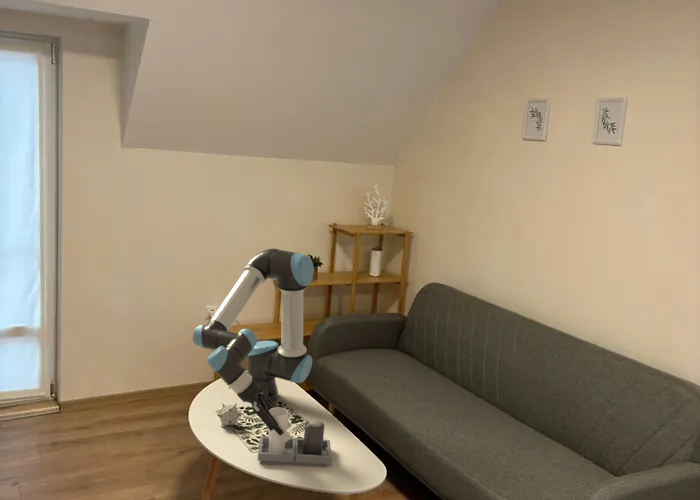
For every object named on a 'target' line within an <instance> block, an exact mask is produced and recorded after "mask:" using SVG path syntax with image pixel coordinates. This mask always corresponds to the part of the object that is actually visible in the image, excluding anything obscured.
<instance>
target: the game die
mask: <svg viewBox="0 0 700 500" xmlns="http://www.w3.org/2000/svg"><path fill="white" fill-rule="evenodd" d="M221 404H222V407H221V409H220V411H219V413H217V414H216V416H217V417H219V419H220V422H221V428H222V427H223V426H234V427H235V428H236V427H237V425H236V423H237V422H238V420H239V418H240V417H242V415H241V414H240V412H239V411H238V408H237V405H238V404H237V403H235V404H232V405H230V404H229V405H228V404H226V405H224V403H221Z"/></svg>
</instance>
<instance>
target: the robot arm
mask: <svg viewBox="0 0 700 500" xmlns="http://www.w3.org/2000/svg"><path fill="white" fill-rule="evenodd" d="M314 269H315V268H314V263H313V260H312V258H311V257H310V256H308V255H307V254H304V253H300V252H294V251H290V250H289V251H288V250H282V249H279V248H269V249H264V250H262V251H259V253H257V254H256V255H253V257H252V258H250V259H249V260H248V261H247V262H246V264H245V265H244V266H243V268H242V269H241V275H240V277H239V278H238V280H237V281H236V282H235V284H234V285H233V287H232V288H231V289H230V291H229V292H228V293H227V295H226V297H225V298H224V300H223V301H222V302H221V304H220V305H219V307H218V308H217V310H215V313H214V314H213V315H212V317H211V318H210V320H209V321H208V322H207V324H200V325H198V326H196V328H194V331H193V333H192V341H193V343H194V345H195V346H198V347H200V348H203V349H207V350H208V349H209V350H211V351H212V352H211V353H210V355H208V357H207V360H206V361H207V362H206V363H207V364H208V365H209V366H210V368H211V369H212V370H213V372H215V374H217V375H218V376H219V378H221V380H222V381H223V382H224V383H225V384H226V385H227V386H228V389H229V390H232V391H233V392H234V393H235V394H236V395H237V397H238V398H239V399H240V400H241V401H242V402H243V403H247V402H249V403H250V404H251V406H252V407H251V410H252V411H253V412H254V413H256V415H257V417H259V418H260V420H261V421H262V422H263V423H264V425H266V427H267V429H268V428H269V429H270V431H272V430H274V431H275V432H276V433H277V434H278V435H279V436H280V437H281V438H282V439H283V441H284V442H285V443H286V442H287V441H288V440H289V439H291V438H293V437H292V435H291V434H290V433H289V432H288V430H289V429H290V428H291V427H292V426H293V425H292V423H290V421H289V420H288V427H287V431H286V430H285V429H284V428H283V427H282V426H281V425H280V424H279V423H277V422H276V420H275V419H274V417H273V416H272V415H271V413H270V412H269V410H270V409H272V408H275V407H279V406H278V405H277V404H276V403H275V402H276V400H278V396H279V389H278V385H277V382H276V378H277V379H280V380H281V379H282V380H283V381H288V382H291V383H296V384H302V383H303V382H304V381H306V379H307V378H308V376H309V374H310V372H311V370H312V365H313V357H312V356H311V355H310V354H308V353H307V351H308V350H307V347H306V346H305V345H304V291H305V290H306V289H307V288H308V286H310V284H311V283H312V281H313V278H314V277H313V276H314V273H315V272H314V271H315V270H314ZM269 279H271V280H276V281H277V283H276V285H277V288H278V289H279V291H280V294H281V295H280V296H281V297H280V300H281V301H280V303H281V304H280V306H281V307H280V313H281V317H280V319H281V320H280V322H281V323H280V328H281V329H280V331H281V332H280V333H281V334H280V335H281V339H280V343H281V344H280V346H279V343H278V342H277V341H275V340H261V341H260V340H259V341H258V338H257V335H256V334H255V332H253V331H252V330H251V329H249V328H242V329H240V330H239V331H237V333H236V332H232V331H229V330H230V329H231V328H232V326H233V324H234V323H235V322H236V320H237V319H238V317H239V316H240V314H241V312H242V311H243V309H244V308H245V307H246V305H247V303H248V302H249V300H250V299H251V298H252V296H253V295H254V294H255V292H256V291H257V289H258V287H259V285H260V286H261V285H264V283H265V282H266V280H269ZM246 358H247V369H245V368H244V367H243V365H242V363H243V362H244V361H245V359H246Z"/></svg>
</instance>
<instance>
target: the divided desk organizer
mask: <svg viewBox="0 0 700 500" xmlns="http://www.w3.org/2000/svg"><path fill="white" fill-rule="evenodd" d="M304 423H305V425H304V435H303V438H299V437H298V438H297V437H292V438H291V439H289V440H288V441H287V442H286V443H285V451H284V453H270V452H269V435H268V436H264V435H261V436H259V437H260V438H259V446H258V454H257V461H259V462H260V461H261V465H273V466H274V465H277V466H295V467H298V466H299V467H313V468H314V467H315V468H328V465H332V459H333V458H332V457H333V456H332V449H331V448H332V447H331V440H330V439H324V434H325V425H326V424H325V423H324V422H323V421H321V420H319V419H314V418H313V419H310V420H308V421H306V422H304Z"/></svg>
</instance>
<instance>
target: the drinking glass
mask: <svg viewBox="0 0 700 500" xmlns="http://www.w3.org/2000/svg"><path fill="white" fill-rule="evenodd" d="M269 412H270V413H271V415H272V416H273V417H274V419H275V420H276V422H277V423H279V424H280V425H281V426H282V427H283V428H284V429H285V430H286V431H287V432H288V429H287V427H288V421H289V410H288V409H287V408H285V407H280V406H278V407H275V408H272V409H270V410H269ZM267 429H268V437H269V452H270V453H284V451H285V442H284V441H283V439H282V438H281V437H280V436H279V435H278V434H277V433H276V432H275V431H274V430H272V431H270V429H269V428H268V427H267Z"/></svg>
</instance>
